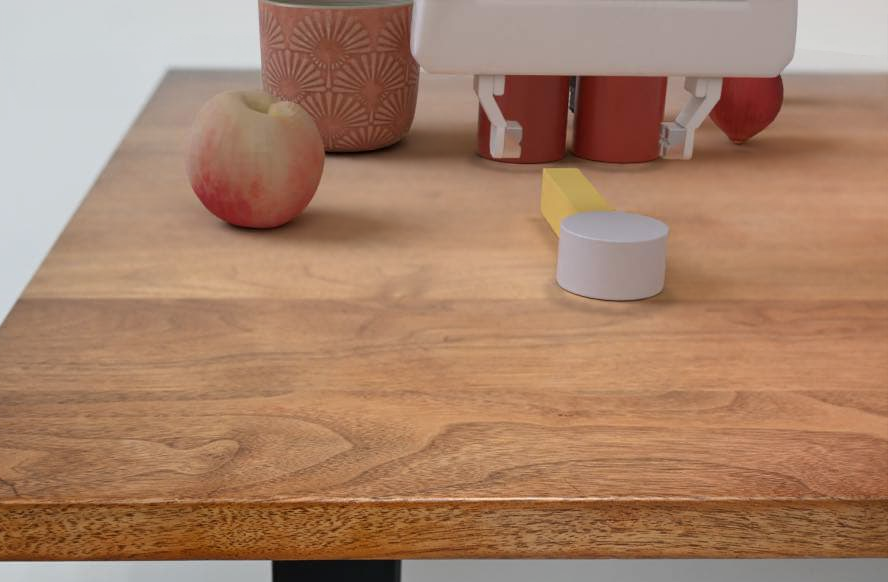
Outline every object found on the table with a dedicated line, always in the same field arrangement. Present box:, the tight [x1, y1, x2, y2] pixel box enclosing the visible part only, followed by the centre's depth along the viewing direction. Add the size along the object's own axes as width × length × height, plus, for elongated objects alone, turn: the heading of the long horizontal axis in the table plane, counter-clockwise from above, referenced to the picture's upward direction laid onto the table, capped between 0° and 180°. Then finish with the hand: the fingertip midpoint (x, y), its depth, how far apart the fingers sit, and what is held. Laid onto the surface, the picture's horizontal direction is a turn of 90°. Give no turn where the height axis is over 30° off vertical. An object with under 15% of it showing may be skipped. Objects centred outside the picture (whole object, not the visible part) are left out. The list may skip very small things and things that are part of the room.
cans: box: [476, 75, 669, 164], centre depth 92 cm, size 14×7×11 cm, turn 92°
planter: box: [257, 0, 421, 153], centre depth 95 cm, size 12×12×11 cm
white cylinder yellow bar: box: [540, 167, 670, 302], centre depth 71 cm, size 17×6×3 cm, turn 3°
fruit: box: [184, 87, 326, 229], centre depth 75 cm, size 8×8×8 cm
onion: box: [707, 73, 785, 145], centre depth 96 cm, size 6×6×8 cm
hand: (589, 156), depth 69 cm, fingers open, 8 cm apart
